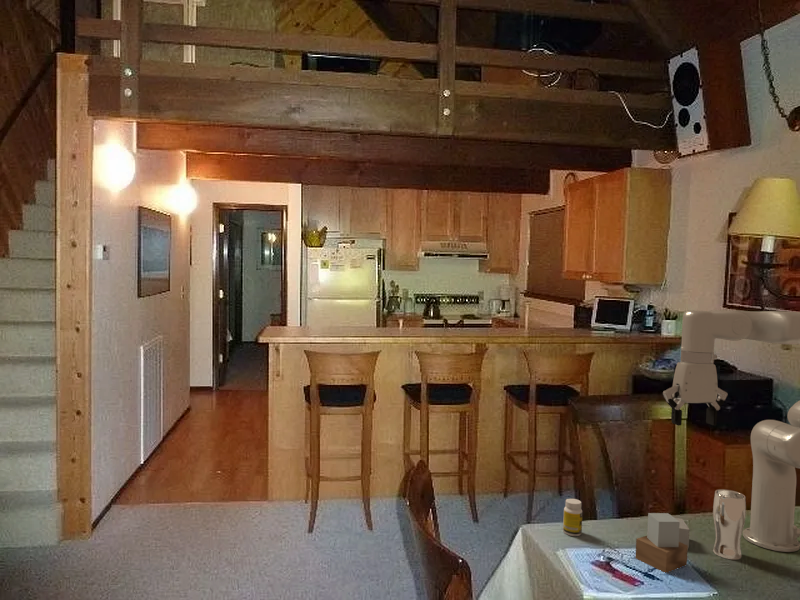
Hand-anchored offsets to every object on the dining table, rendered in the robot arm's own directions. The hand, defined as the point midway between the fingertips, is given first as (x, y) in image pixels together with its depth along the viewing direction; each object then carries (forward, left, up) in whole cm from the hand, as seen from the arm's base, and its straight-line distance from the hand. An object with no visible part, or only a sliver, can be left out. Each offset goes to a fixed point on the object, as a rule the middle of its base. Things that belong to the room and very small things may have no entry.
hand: (693, 424), depth 149 cm
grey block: (+5, 0, -31) cm, 31 cm away
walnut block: (+14, +11, -31) cm, 36 cm away
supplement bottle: (+29, -6, -31) cm, 43 cm away
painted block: (+14, +11, -26) cm, 31 cm away
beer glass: (-5, +8, -31) cm, 32 cm away
